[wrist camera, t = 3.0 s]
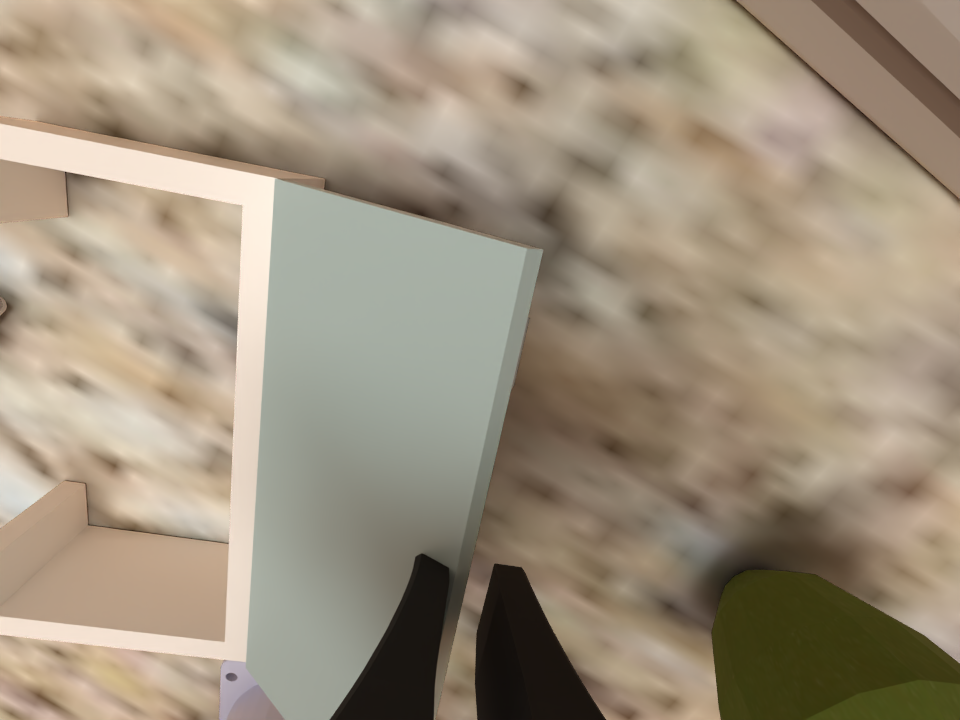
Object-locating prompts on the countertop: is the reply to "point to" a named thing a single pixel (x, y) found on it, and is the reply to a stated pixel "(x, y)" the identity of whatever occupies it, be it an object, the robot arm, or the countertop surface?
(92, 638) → the c-shaped bracket
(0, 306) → the usb wall charger
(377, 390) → the cover
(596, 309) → the countertop surface
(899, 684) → the olive green rounded lump
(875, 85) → the toaster
